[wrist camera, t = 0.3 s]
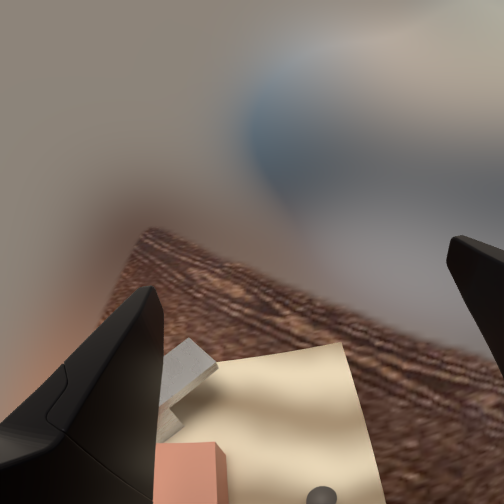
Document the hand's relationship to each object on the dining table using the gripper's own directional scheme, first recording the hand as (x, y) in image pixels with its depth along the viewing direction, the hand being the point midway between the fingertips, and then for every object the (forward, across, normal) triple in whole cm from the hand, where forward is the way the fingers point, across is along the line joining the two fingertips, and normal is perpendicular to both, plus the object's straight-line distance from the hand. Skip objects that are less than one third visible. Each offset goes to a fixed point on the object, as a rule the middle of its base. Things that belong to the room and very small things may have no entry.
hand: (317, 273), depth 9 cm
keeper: (+6, +8, +15) cm, 18 cm away
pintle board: (-2, +5, +17) cm, 18 cm away
